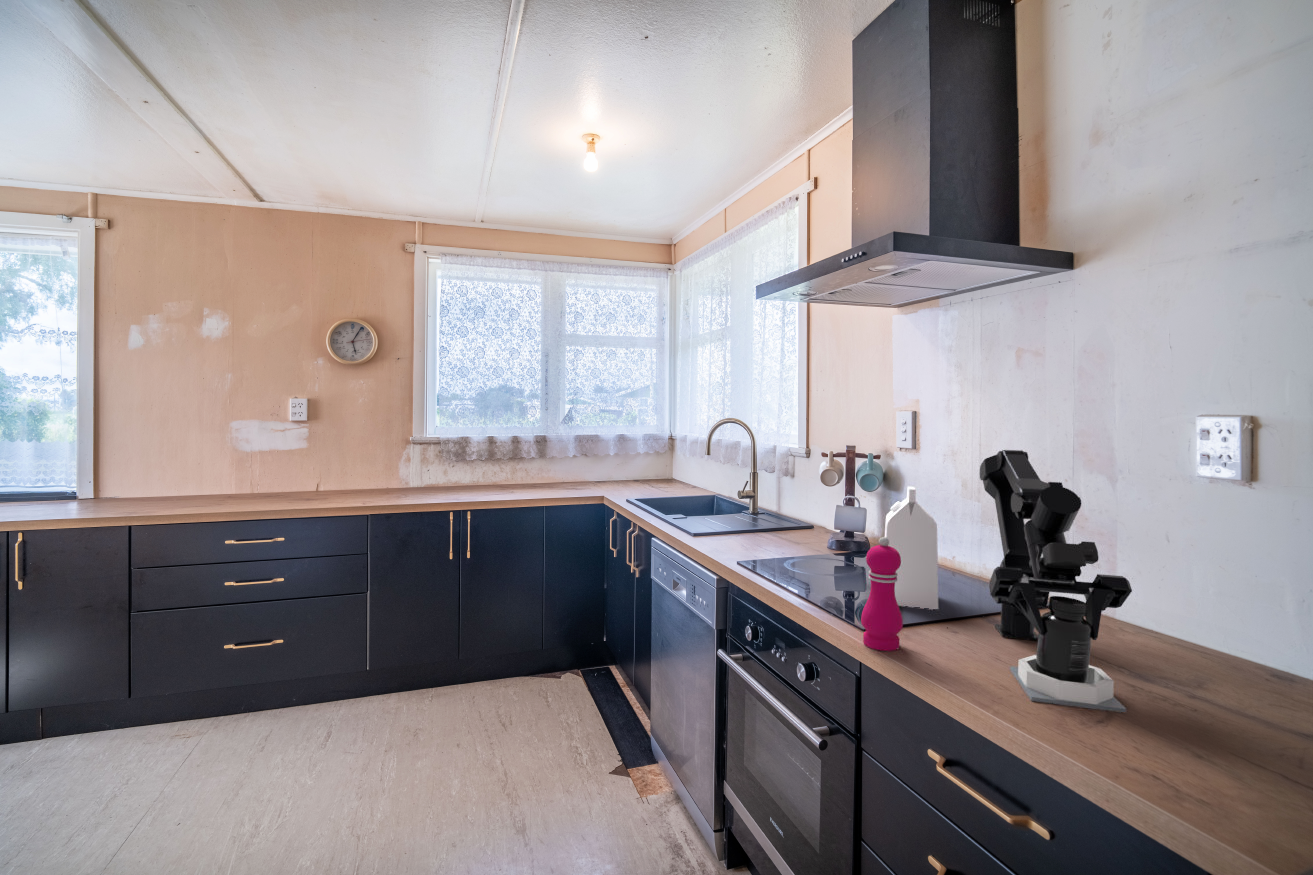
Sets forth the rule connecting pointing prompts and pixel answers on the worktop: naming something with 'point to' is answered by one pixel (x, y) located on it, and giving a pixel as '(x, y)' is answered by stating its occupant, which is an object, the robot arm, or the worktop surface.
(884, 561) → the pepper mill
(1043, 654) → the supplement bottle
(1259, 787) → the worktop surface
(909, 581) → the milk
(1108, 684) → the collar seat
